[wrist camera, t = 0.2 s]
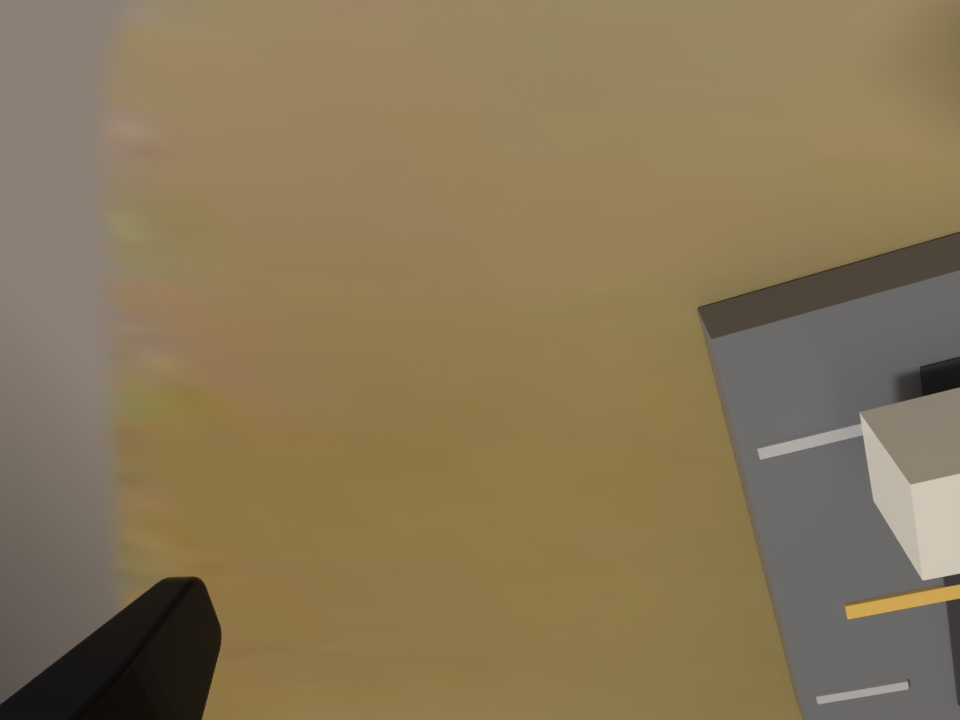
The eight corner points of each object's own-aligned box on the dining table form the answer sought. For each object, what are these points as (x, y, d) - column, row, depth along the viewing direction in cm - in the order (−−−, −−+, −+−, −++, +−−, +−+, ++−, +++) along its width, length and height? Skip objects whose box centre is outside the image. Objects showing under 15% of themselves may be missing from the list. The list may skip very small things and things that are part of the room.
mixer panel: (1112, 652, 27) (1154, 704, 25) (798, 705, 29) (815, 755, 28) (1123, 185, 19) (1185, 210, 18) (697, 308, 22) (711, 341, 20)
